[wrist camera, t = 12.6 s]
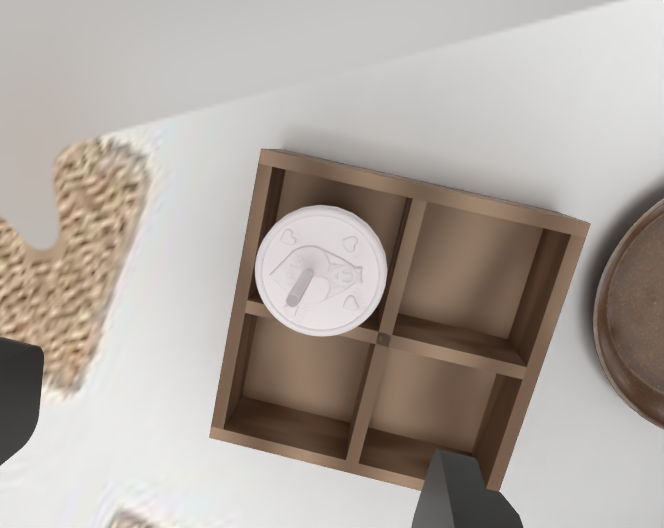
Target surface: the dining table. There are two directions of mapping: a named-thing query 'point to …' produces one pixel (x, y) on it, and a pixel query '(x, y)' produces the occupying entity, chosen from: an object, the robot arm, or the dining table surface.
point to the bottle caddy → (400, 328)
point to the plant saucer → (635, 316)
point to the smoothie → (321, 270)
